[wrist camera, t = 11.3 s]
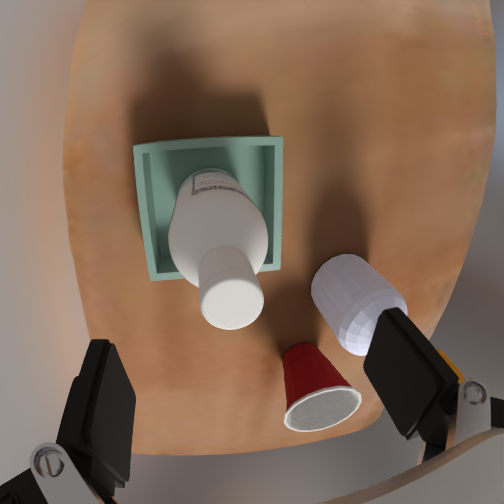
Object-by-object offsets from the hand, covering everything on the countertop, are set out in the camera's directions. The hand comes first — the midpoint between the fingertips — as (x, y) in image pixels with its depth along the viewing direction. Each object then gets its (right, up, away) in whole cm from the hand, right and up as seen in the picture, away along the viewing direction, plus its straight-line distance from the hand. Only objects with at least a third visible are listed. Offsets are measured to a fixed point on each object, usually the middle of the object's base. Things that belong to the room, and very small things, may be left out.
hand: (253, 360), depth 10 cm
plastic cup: (+7, -13, +35) cm, 38 cm away
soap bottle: (+12, 0, +30) cm, 33 cm away
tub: (-5, +9, +22) cm, 25 cm away
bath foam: (-5, +9, +22) cm, 24 cm away
